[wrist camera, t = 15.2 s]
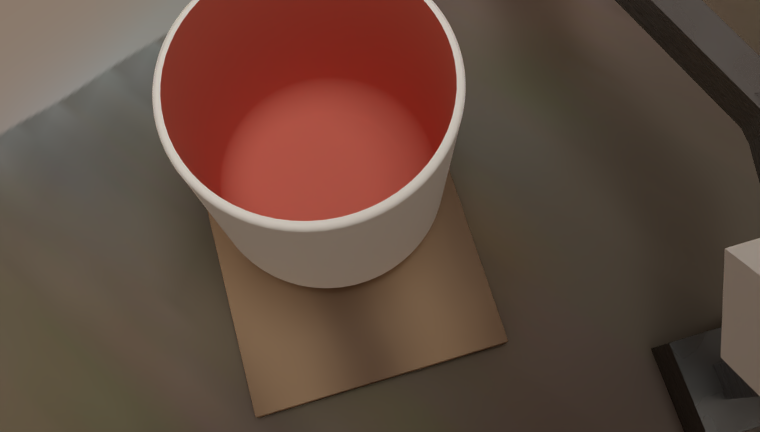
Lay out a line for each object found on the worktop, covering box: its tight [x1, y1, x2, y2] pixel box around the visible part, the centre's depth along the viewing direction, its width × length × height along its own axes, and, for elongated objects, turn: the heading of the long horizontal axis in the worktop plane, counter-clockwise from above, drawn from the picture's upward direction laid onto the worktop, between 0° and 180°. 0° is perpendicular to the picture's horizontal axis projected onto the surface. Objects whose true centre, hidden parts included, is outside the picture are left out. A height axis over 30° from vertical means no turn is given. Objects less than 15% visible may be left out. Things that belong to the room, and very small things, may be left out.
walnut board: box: [207, 171, 508, 418], centre depth 32 cm, size 11×18×1 cm, turn 16°
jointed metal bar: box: [615, 0, 760, 432], centre depth 29 cm, size 5×28×10 cm, turn 16°
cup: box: [152, 0, 466, 288], centre depth 27 cm, size 10×10×10 cm
